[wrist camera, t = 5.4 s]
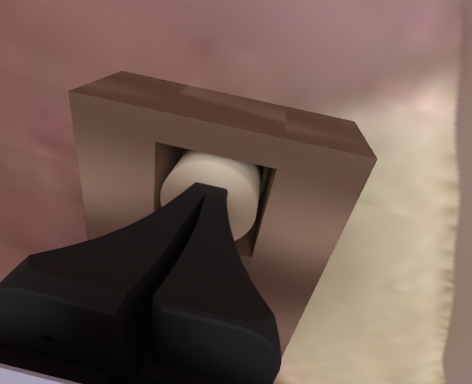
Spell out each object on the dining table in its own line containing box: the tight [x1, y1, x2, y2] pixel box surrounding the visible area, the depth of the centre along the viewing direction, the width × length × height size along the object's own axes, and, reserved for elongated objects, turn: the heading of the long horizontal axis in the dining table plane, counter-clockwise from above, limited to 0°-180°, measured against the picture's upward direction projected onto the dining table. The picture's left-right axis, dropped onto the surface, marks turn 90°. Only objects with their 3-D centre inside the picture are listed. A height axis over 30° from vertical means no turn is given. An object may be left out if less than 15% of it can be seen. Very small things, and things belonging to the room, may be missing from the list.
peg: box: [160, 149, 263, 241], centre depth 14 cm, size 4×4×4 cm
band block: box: [68, 71, 377, 357], centre depth 16 cm, size 14×11×4 cm
